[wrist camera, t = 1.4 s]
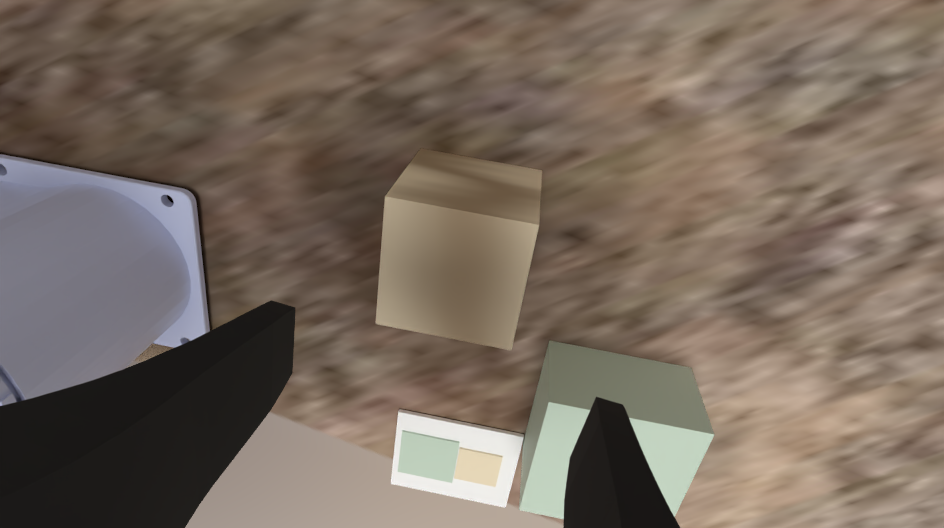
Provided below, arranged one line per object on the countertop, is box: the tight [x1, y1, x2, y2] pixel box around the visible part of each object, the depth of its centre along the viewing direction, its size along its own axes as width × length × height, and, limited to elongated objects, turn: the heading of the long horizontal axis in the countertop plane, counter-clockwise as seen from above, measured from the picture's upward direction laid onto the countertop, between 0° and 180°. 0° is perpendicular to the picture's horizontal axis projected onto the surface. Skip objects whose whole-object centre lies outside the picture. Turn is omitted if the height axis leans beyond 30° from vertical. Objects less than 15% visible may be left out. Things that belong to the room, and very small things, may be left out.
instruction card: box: [391, 409, 524, 507], centre depth 27 cm, size 6×5×1 cm
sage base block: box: [519, 340, 714, 519], centre depth 23 cm, size 6×6×4 cm
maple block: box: [376, 148, 542, 350], centre depth 19 cm, size 4×4×5 cm
